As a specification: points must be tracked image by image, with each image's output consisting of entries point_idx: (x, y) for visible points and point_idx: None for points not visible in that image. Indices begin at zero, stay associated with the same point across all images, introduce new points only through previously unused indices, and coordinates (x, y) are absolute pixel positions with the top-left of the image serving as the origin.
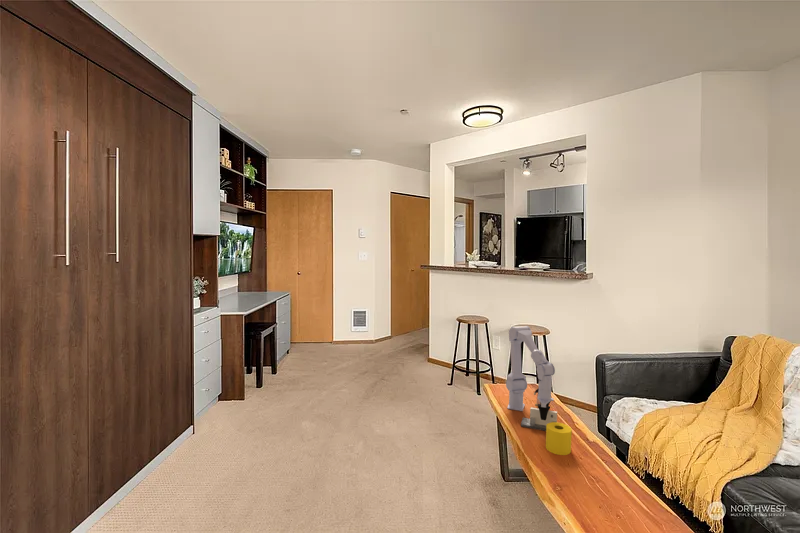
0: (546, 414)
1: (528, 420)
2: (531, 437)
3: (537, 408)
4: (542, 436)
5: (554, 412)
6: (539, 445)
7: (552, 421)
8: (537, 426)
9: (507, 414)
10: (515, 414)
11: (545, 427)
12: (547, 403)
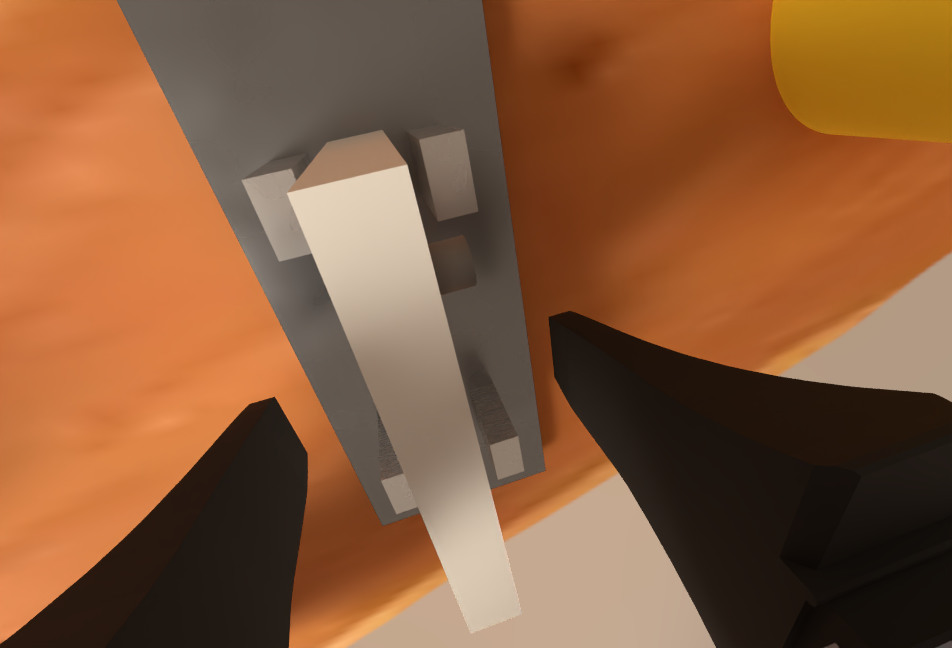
0: (669, 359)
1: None
2: (709, 307)
3: (446, 573)
4: (654, 230)
5: (426, 252)
6: (844, 193)
7: (455, 213)
8: (515, 349)
9: (367, 604)
10: (312, 581)
11: (487, 269)
12: (179, 642)
